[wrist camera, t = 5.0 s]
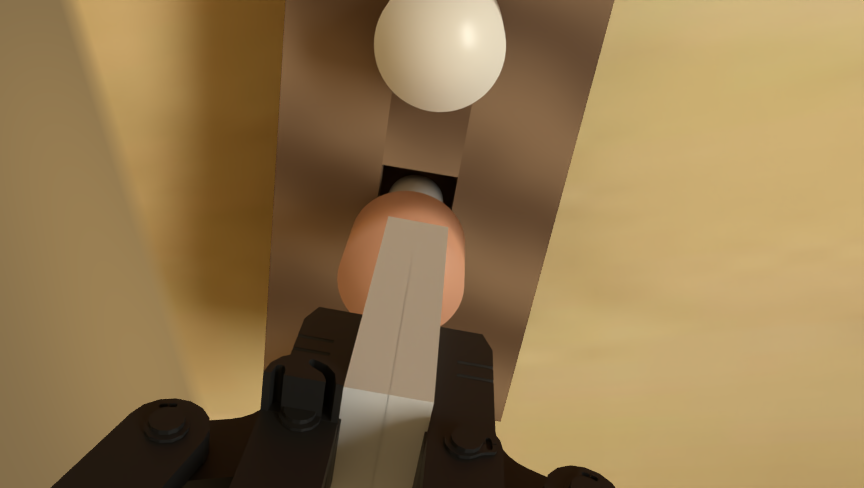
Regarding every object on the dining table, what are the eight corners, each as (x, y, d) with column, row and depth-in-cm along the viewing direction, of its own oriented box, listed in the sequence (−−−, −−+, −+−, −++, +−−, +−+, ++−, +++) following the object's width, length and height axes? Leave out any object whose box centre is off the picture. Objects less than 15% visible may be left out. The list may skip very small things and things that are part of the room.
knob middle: (456, 252, 32) (452, 345, 26) (359, 236, 32) (331, 325, 25) (474, 162, 30) (475, 239, 23) (371, 144, 30) (343, 217, 23)
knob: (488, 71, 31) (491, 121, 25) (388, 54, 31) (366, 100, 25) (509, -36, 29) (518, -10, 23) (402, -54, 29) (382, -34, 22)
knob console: (496, 350, 41) (500, 421, 35) (290, 316, 40) (262, 383, 35) (599, -59, 30) (626, -44, 25) (323, -108, 30) (291, -104, 25)
